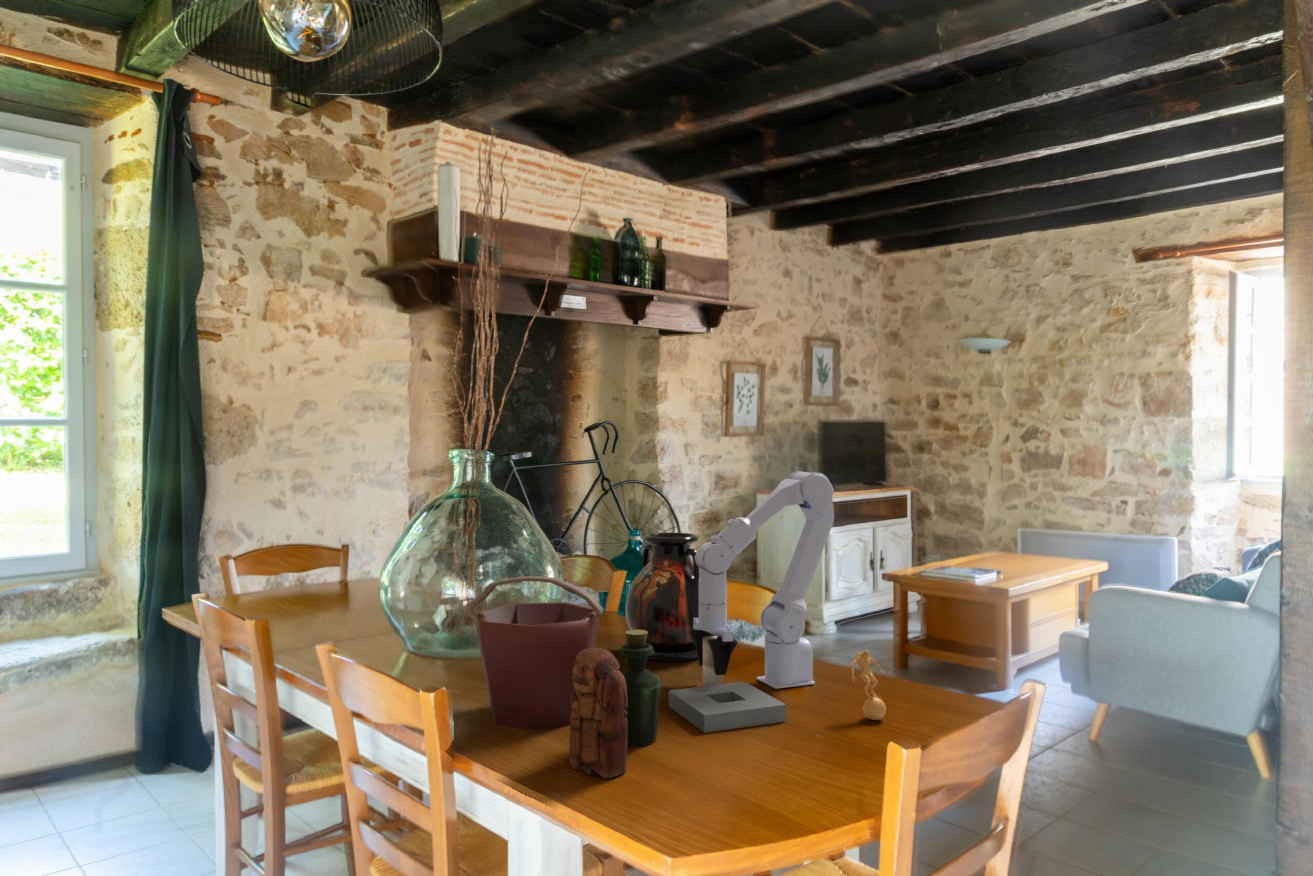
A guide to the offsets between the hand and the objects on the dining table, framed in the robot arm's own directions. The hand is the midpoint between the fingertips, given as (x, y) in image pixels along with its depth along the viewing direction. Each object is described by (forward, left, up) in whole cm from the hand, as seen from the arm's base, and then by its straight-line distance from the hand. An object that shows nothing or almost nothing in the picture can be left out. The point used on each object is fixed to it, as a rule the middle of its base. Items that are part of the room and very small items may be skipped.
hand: (712, 669), depth 175 cm
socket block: (+5, +16, -4) cm, 17 cm away
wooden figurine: (+35, +32, -4) cm, 48 cm away
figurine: (-18, +28, -4) cm, 34 cm away
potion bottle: (+25, +23, -4) cm, 34 cm away
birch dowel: (0, 0, -4) cm, 4 cm away
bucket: (+37, +3, -4) cm, 37 cm away
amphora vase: (-3, -29, -4) cm, 29 cm away
